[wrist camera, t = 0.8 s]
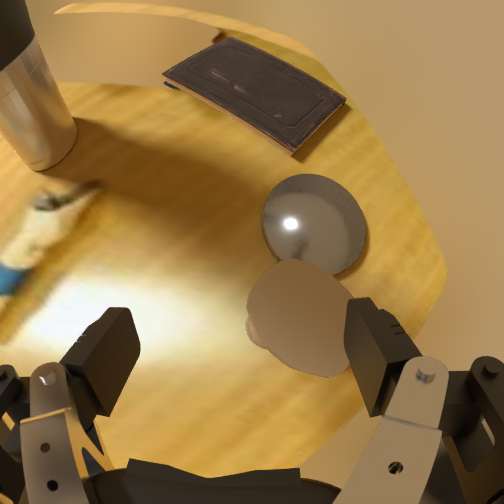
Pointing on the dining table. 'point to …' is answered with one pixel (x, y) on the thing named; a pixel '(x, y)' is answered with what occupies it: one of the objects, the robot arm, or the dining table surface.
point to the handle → (300, 317)
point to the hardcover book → (257, 91)
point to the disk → (314, 223)
